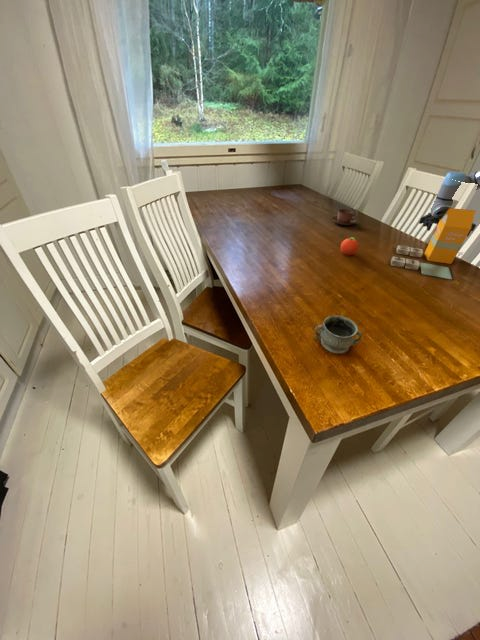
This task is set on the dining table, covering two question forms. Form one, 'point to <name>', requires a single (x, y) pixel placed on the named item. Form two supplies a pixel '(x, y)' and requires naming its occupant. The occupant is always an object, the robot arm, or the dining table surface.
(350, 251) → the tomato
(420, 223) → the robot arm
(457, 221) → the orange juice
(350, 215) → the cup and saucer
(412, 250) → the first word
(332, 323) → the vessel
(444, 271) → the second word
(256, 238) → the dining table surface
